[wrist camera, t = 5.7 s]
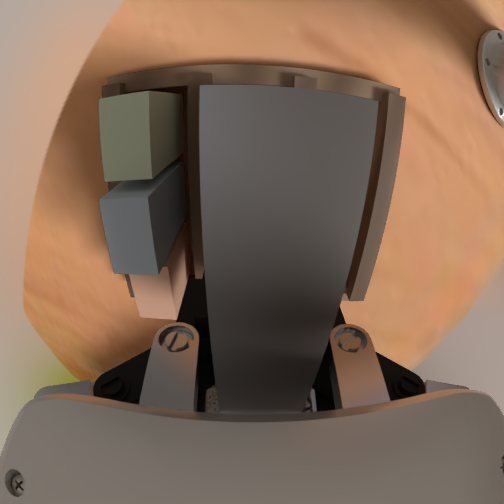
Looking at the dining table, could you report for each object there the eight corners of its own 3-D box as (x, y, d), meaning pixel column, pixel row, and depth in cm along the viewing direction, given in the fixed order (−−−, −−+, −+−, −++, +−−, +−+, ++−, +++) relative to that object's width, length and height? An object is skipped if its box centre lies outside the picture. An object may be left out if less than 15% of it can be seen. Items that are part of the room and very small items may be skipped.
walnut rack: (388, 88, 18) (406, 88, 15) (352, 288, 28) (361, 306, 25) (118, 78, 17) (102, 76, 14) (141, 284, 27) (132, 303, 24)
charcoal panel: (276, 101, 17) (378, 101, 3) (265, 272, 24) (279, 460, 10) (239, 100, 17) (199, 85, 3) (236, 271, 24) (226, 460, 10)
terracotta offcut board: (186, 222, 24) (167, 266, 18) (190, 268, 26) (176, 319, 20) (154, 222, 24) (127, 265, 18) (160, 268, 26) (140, 317, 20)
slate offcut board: (183, 161, 21) (147, 197, 13) (186, 215, 23) (158, 275, 16) (148, 162, 21) (98, 199, 13) (153, 215, 23) (114, 273, 16)
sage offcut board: (182, 94, 18) (149, 90, 11) (183, 152, 21) (152, 179, 14) (146, 98, 18) (98, 99, 11) (148, 154, 21) (104, 181, 14)
